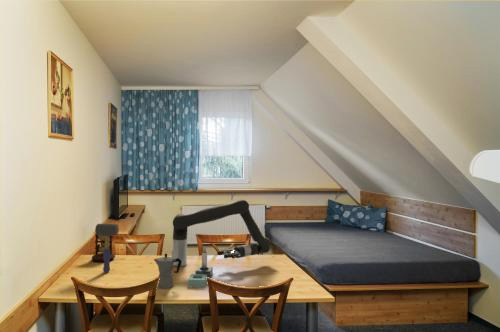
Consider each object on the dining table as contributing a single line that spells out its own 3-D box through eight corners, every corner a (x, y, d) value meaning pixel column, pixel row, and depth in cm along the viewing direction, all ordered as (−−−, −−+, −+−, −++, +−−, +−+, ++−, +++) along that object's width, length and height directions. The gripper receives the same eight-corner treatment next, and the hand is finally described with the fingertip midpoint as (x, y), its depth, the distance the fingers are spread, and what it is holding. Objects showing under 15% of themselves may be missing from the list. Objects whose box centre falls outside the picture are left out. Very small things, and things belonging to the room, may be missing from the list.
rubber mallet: (118, 270, 225) (119, 222, 224) (115, 274, 218) (115, 224, 217) (98, 270, 224) (99, 222, 224) (93, 274, 217) (94, 224, 216)
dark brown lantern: (117, 256, 255) (118, 228, 254) (111, 262, 240) (111, 233, 239) (96, 256, 254) (96, 228, 253) (88, 262, 239) (88, 232, 239)
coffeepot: (151, 288, 195) (151, 255, 195) (155, 282, 205) (156, 251, 204) (179, 289, 195) (180, 256, 195) (182, 283, 205) (183, 251, 204)
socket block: (195, 277, 215) (195, 270, 215) (198, 272, 224) (198, 266, 224) (210, 278, 214) (210, 271, 214) (212, 273, 223) (212, 266, 223)
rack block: (187, 286, 200) (187, 279, 200) (191, 280, 209) (191, 274, 209) (204, 287, 199) (204, 280, 199) (207, 281, 209) (207, 274, 208)
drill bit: (200, 276, 218) (201, 248, 217) (201, 274, 221) (202, 246, 220) (206, 276, 217) (206, 248, 217) (207, 274, 221) (207, 247, 220)
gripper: (236, 243, 240) (215, 246, 231) (248, 247, 228) (226, 251, 219) (236, 254, 240) (215, 258, 231) (248, 259, 228) (226, 263, 219)
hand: (220, 254), depth 225 cm, fingers open, 8 cm apart
